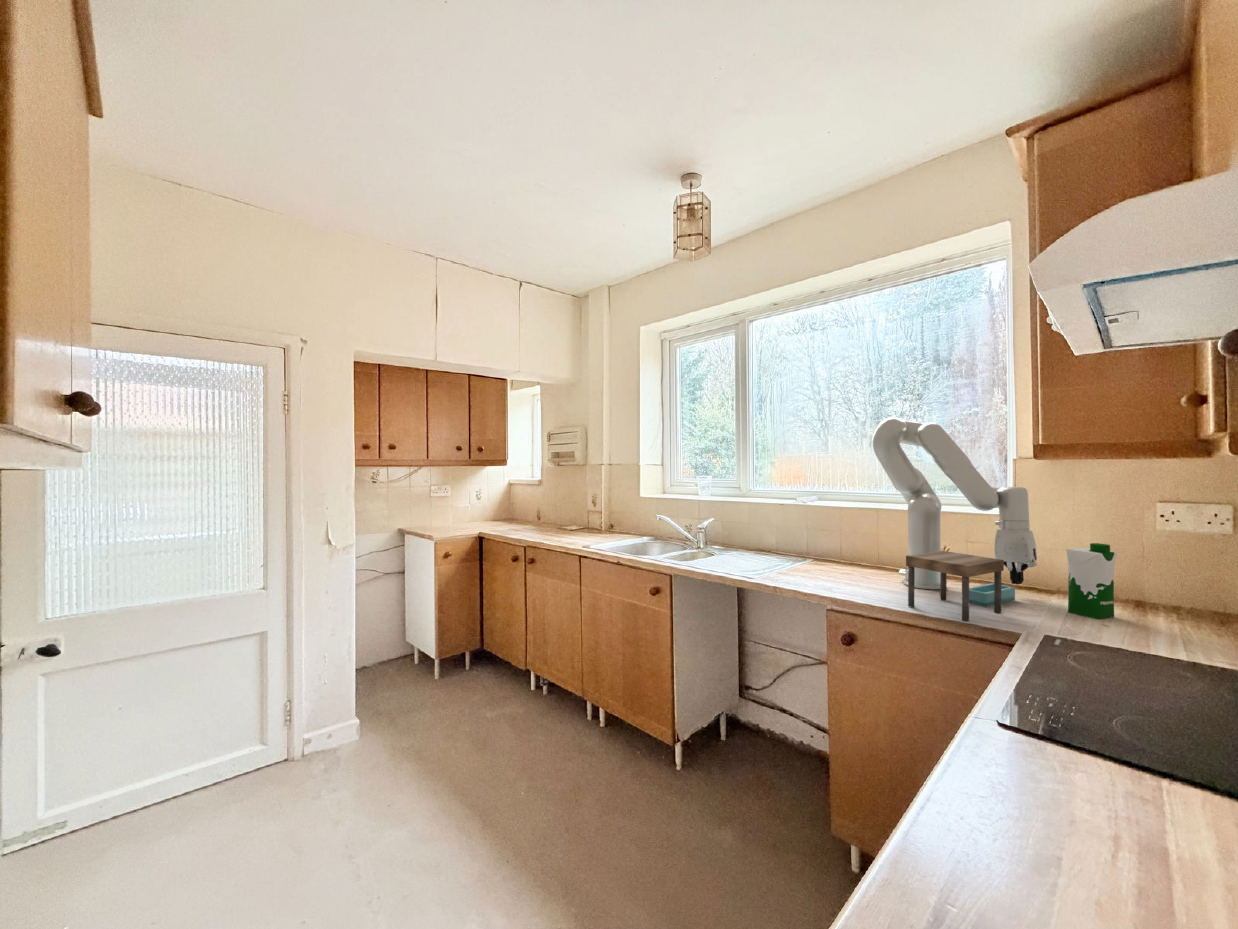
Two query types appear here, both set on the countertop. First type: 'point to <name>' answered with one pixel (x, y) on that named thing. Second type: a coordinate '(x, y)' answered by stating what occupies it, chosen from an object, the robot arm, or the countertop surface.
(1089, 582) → the milk carton
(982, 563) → the small wooden table
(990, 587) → the tray
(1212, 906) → the countertop surface
